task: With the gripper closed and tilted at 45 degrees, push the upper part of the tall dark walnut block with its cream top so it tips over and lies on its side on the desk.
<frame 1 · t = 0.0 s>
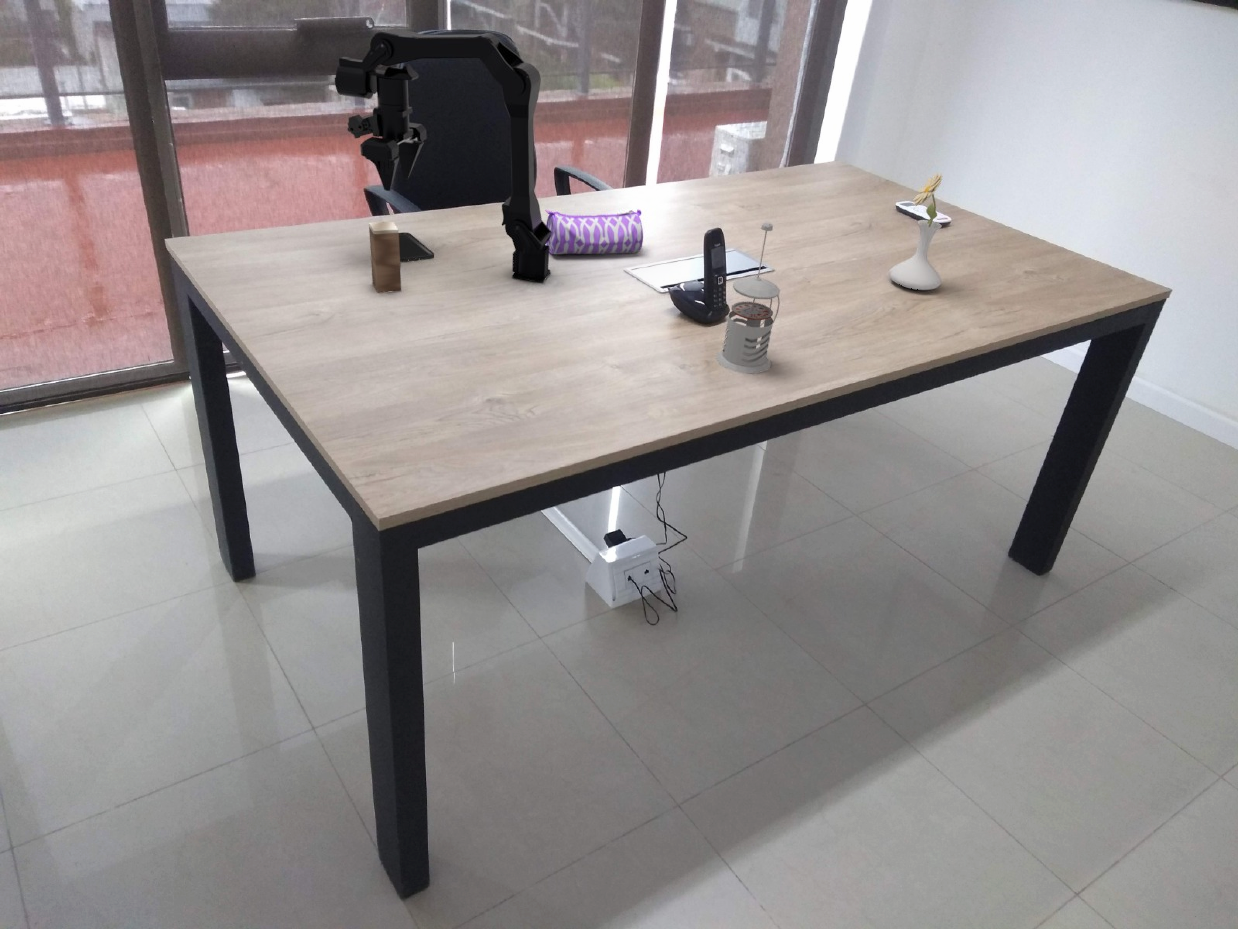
hand: (396, 184, 182), 15 cm above the table, tool pointing down, fingers open, 9 cm apart
flower in vase: (911, 286, 201), on the table
pencil case: (593, 253, 201), on the table
phone: (404, 250, 193), on the table
french press: (746, 360, 162), on the table
walnut block: (386, 287, 175), on the table
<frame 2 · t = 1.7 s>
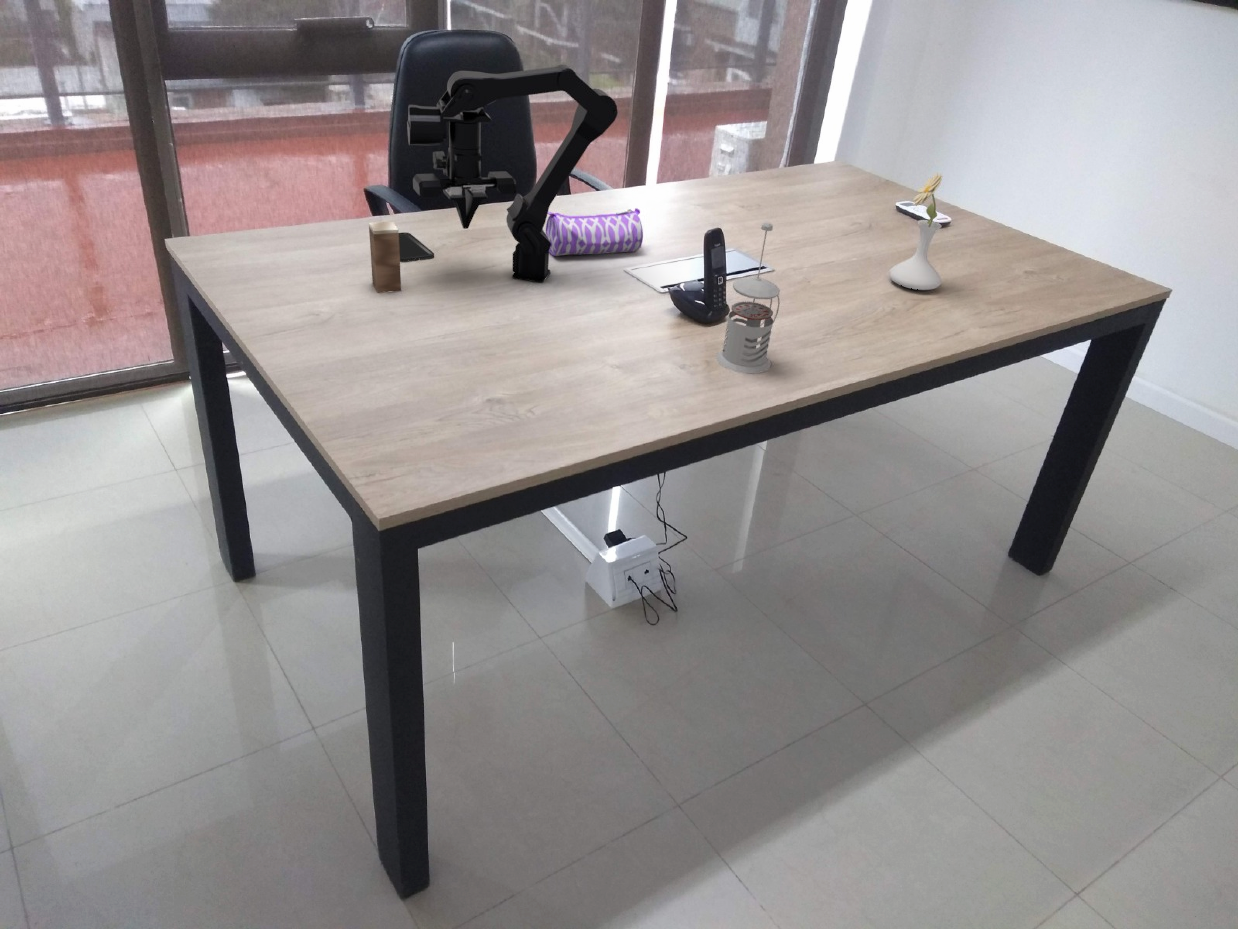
hand: (465, 227, 177), 10 cm above the table, tool pointing down, fingers closed
nothing on the table moved.
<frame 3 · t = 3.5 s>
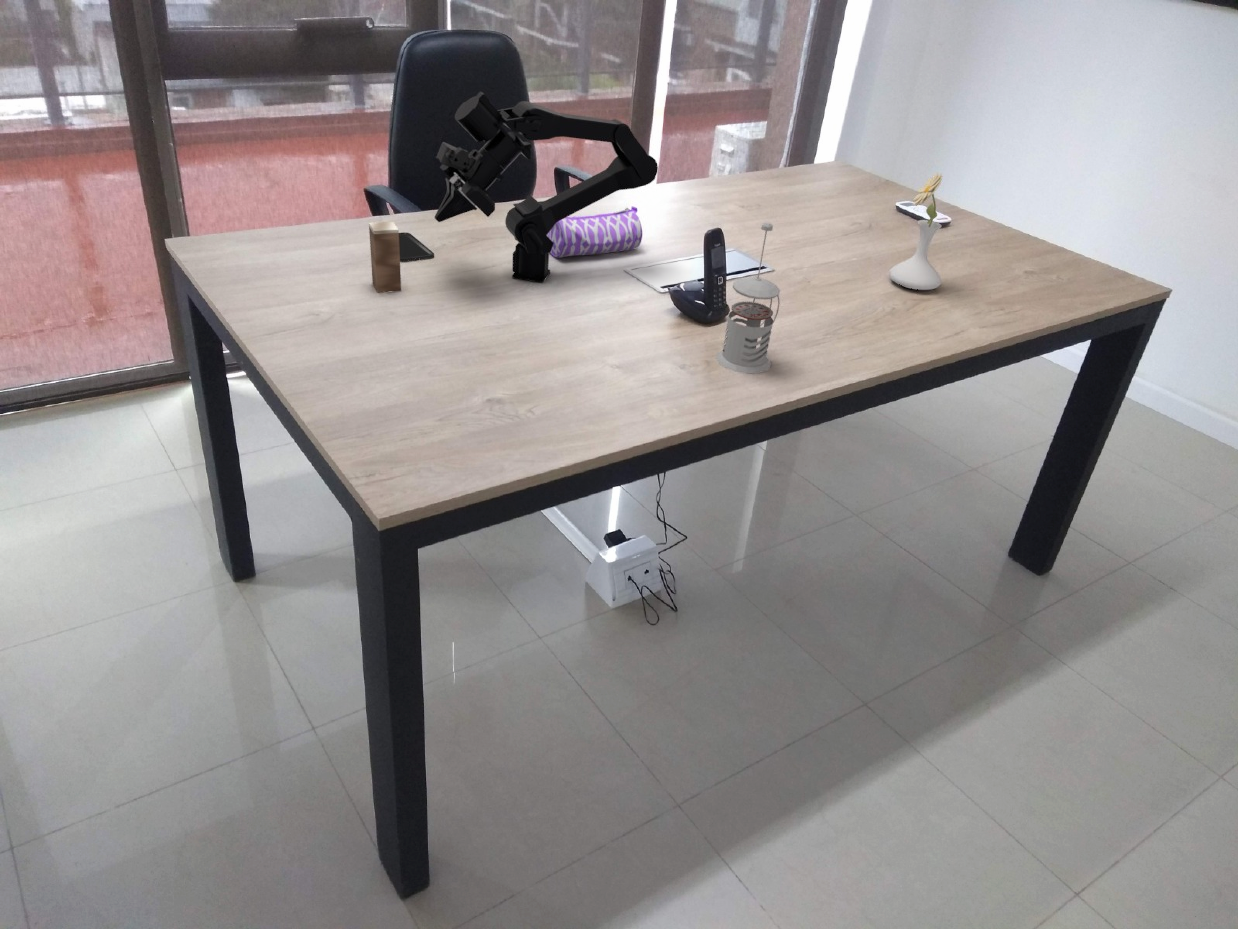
hand: (436, 219, 172), 13 cm above the table, tool tilted 45°, fingers closed
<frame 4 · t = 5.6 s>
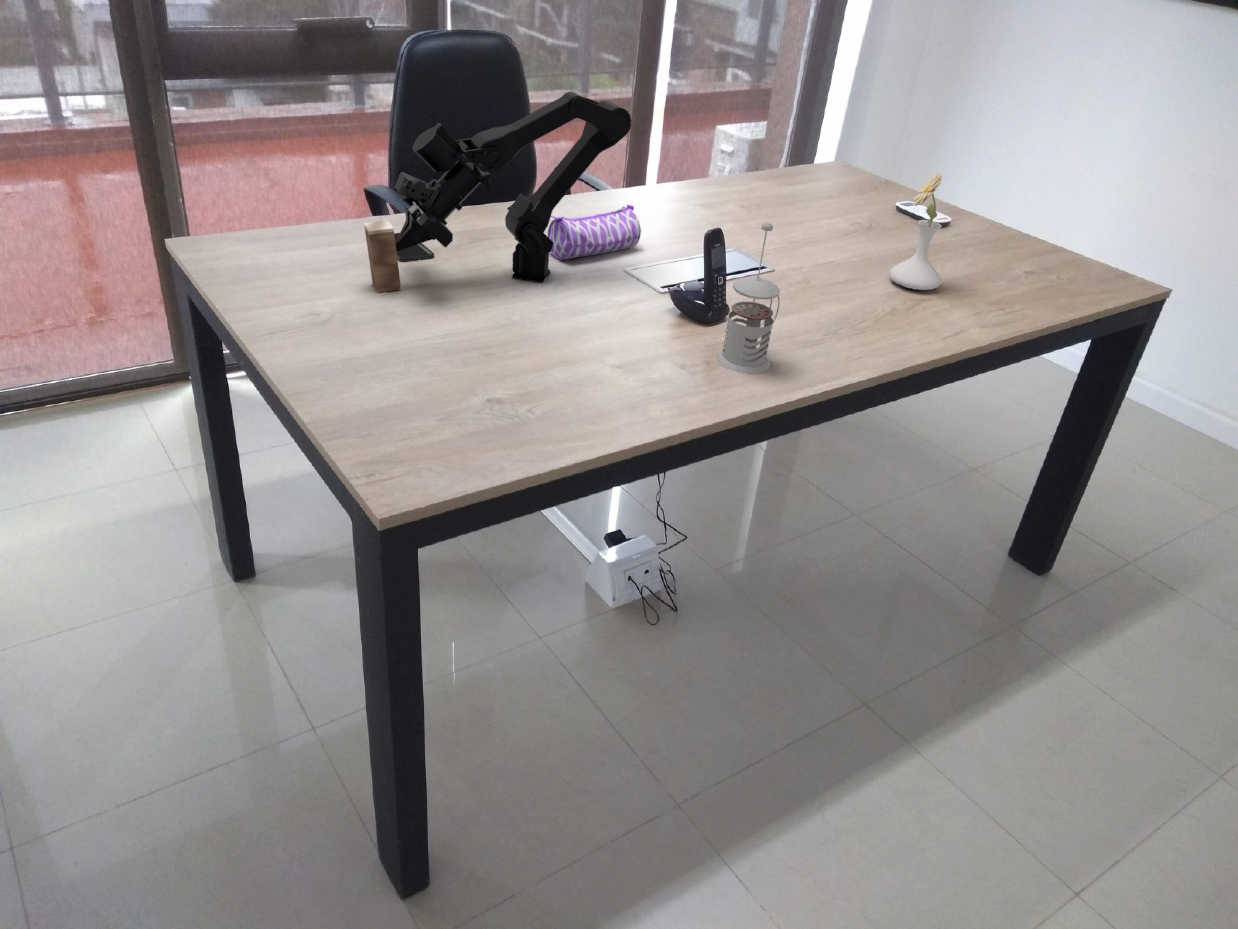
hand: (395, 249, 172), 7 cm above the table, tool tilted 45°, fingers closed, pressing on walnut block
walnut block: (386, 286, 175), on the table, touching gripper
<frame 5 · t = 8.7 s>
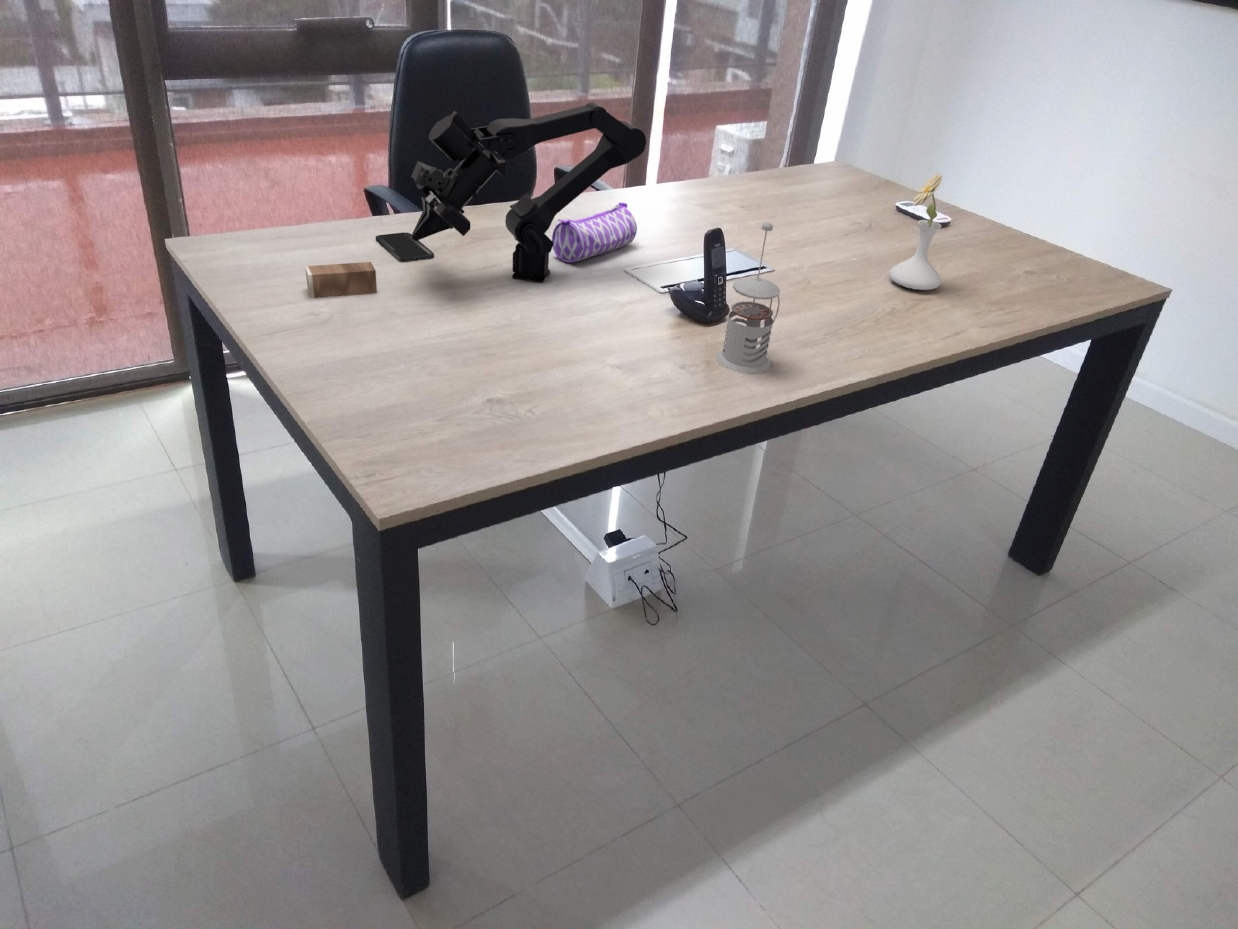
hand: (413, 238, 172), 9 cm above the table, tool tilted 45°, fingers closed
walnut block: (373, 277, 173), point 2 cm above the table, tilted 90°
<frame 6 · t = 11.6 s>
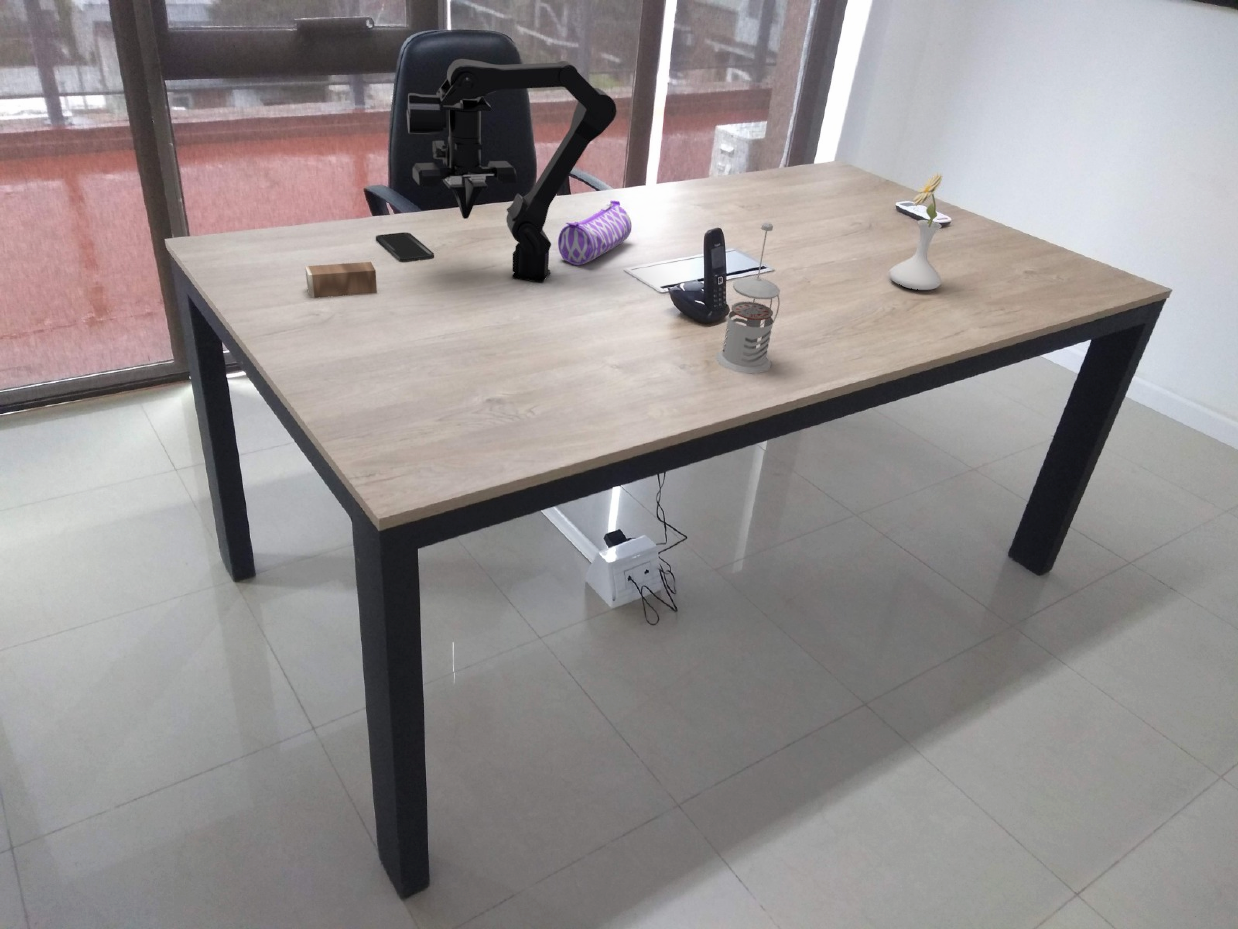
hand: (465, 217, 176), 12 cm above the table, tool pointing down, fingers closed
at the end: walnut block tilted 90°; walnut block inside the target area (1.3 cm from its centre), point 2.2 cm above the table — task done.
